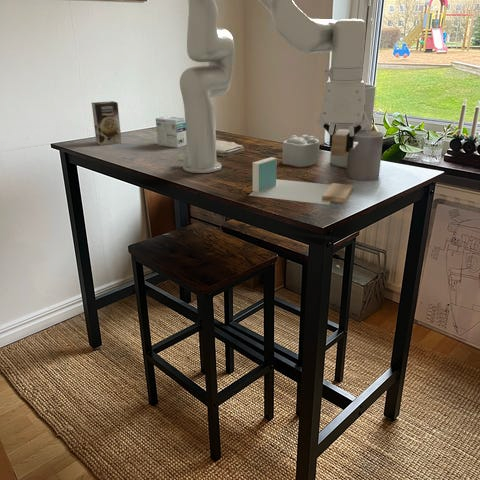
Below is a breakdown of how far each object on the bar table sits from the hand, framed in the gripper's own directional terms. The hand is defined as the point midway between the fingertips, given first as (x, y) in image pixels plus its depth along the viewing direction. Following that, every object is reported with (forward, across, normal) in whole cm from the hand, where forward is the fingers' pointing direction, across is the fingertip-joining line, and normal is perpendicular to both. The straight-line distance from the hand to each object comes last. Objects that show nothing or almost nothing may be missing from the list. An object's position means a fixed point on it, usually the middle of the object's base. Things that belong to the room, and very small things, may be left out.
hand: (341, 149), depth 123 cm
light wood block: (+1, 0, +3) cm, 3 cm away
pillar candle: (+13, +3, +21) cm, 25 cm away
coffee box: (+13, -102, +38) cm, 109 cm away
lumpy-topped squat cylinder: (+13, -19, +34) cm, 42 cm away
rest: (+13, 0, +1) cm, 13 cm away
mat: (+13, -12, +1) cm, 17 cm away
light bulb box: (+13, -75, +43) cm, 87 cm away
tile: (+12, -21, 0) cm, 24 cm away
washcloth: (+13, -54, +40) cm, 68 cm away
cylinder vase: (+13, -4, +37) cm, 39 cm away
